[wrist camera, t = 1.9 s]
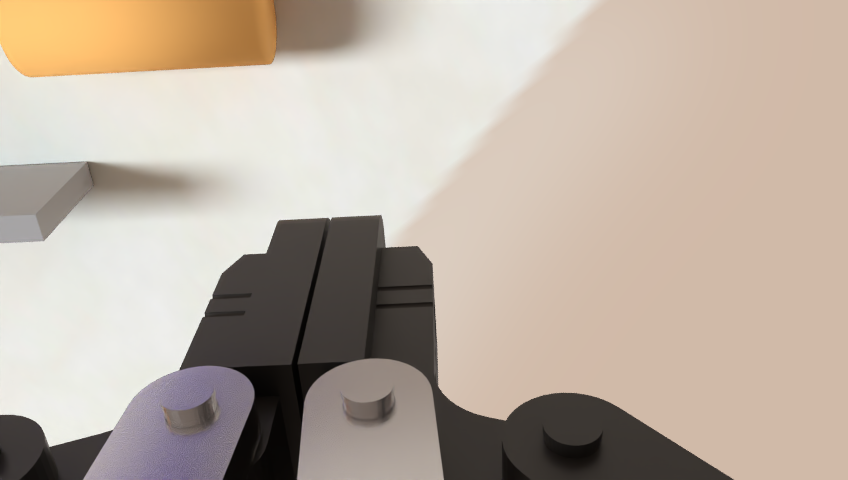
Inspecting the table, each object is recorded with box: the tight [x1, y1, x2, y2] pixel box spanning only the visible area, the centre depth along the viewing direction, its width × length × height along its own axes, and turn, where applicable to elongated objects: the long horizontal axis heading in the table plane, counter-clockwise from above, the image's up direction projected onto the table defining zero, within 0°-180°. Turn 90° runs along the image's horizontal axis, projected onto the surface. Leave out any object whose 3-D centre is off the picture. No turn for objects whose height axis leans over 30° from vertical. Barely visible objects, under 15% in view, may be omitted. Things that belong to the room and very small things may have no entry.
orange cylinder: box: [0, 0, 277, 77], centre depth 26 cm, size 8×4×4 cm, turn 93°
